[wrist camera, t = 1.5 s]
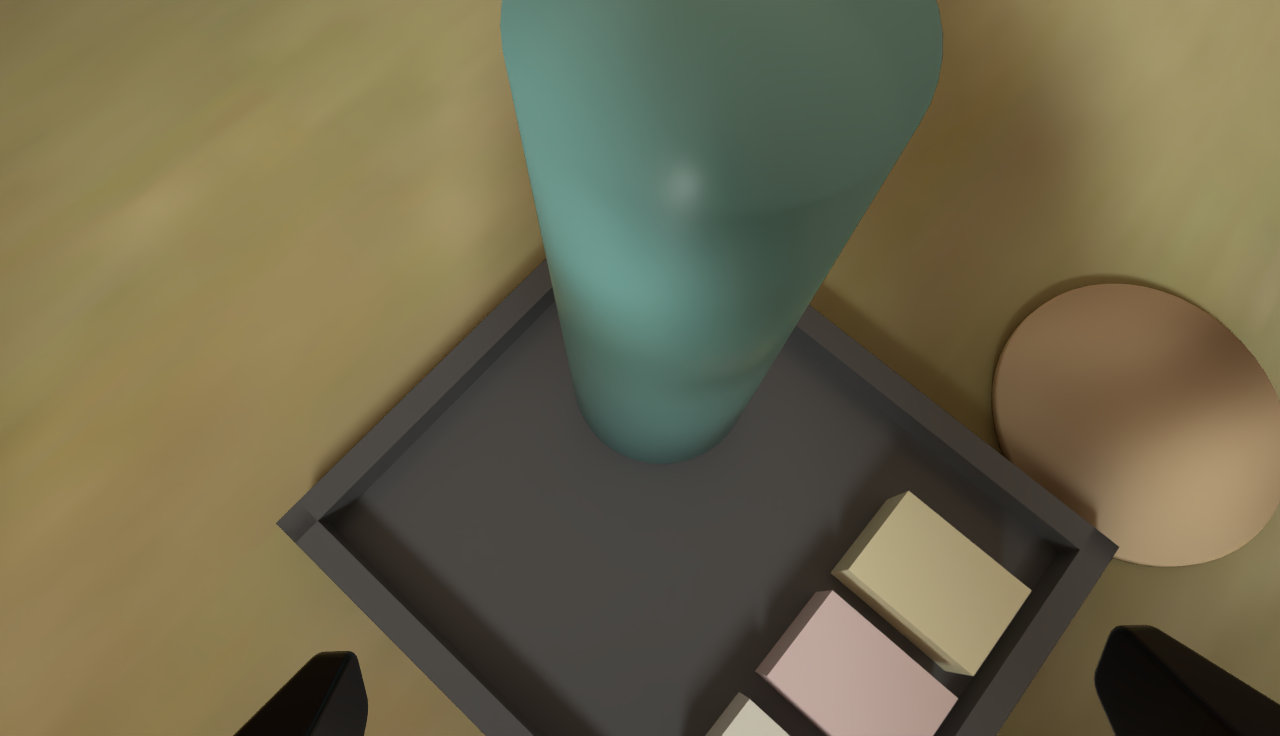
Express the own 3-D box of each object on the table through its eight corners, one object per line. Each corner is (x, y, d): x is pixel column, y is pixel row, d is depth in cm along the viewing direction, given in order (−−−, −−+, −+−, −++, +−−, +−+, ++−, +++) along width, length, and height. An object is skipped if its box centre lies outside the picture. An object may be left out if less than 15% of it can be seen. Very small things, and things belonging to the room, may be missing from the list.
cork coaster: (1327, 408, 24) (1338, 404, 24) (1191, 632, 22) (1201, 633, 22) (1085, 238, 26) (1092, 232, 25) (936, 431, 24) (941, 428, 23)
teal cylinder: (782, 371, 24) (1027, 6, 9) (670, 501, 22) (757, 307, 8) (651, 265, 25) (695, -208, 10) (537, 384, 23) (406, 28, 9)
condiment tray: (1088, 551, 23) (1135, 544, 21) (779, 1013, 19) (799, 1062, 17) (635, 194, 26) (636, 157, 24) (298, 529, 22) (264, 520, 20)
